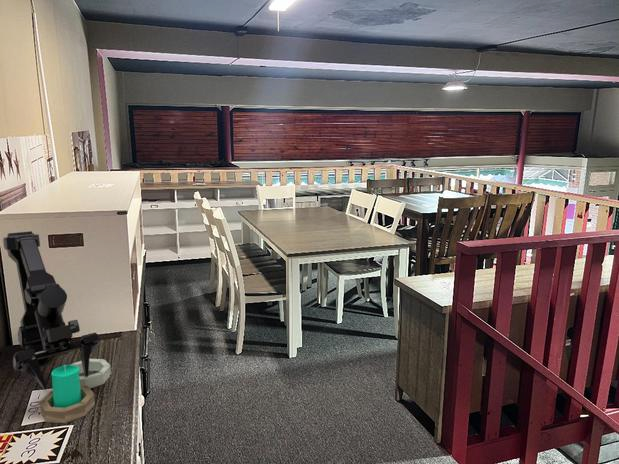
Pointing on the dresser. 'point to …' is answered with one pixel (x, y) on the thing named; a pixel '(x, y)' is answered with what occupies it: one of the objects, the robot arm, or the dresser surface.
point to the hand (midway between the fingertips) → (66, 382)
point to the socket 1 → (70, 412)
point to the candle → (66, 386)
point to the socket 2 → (98, 377)
